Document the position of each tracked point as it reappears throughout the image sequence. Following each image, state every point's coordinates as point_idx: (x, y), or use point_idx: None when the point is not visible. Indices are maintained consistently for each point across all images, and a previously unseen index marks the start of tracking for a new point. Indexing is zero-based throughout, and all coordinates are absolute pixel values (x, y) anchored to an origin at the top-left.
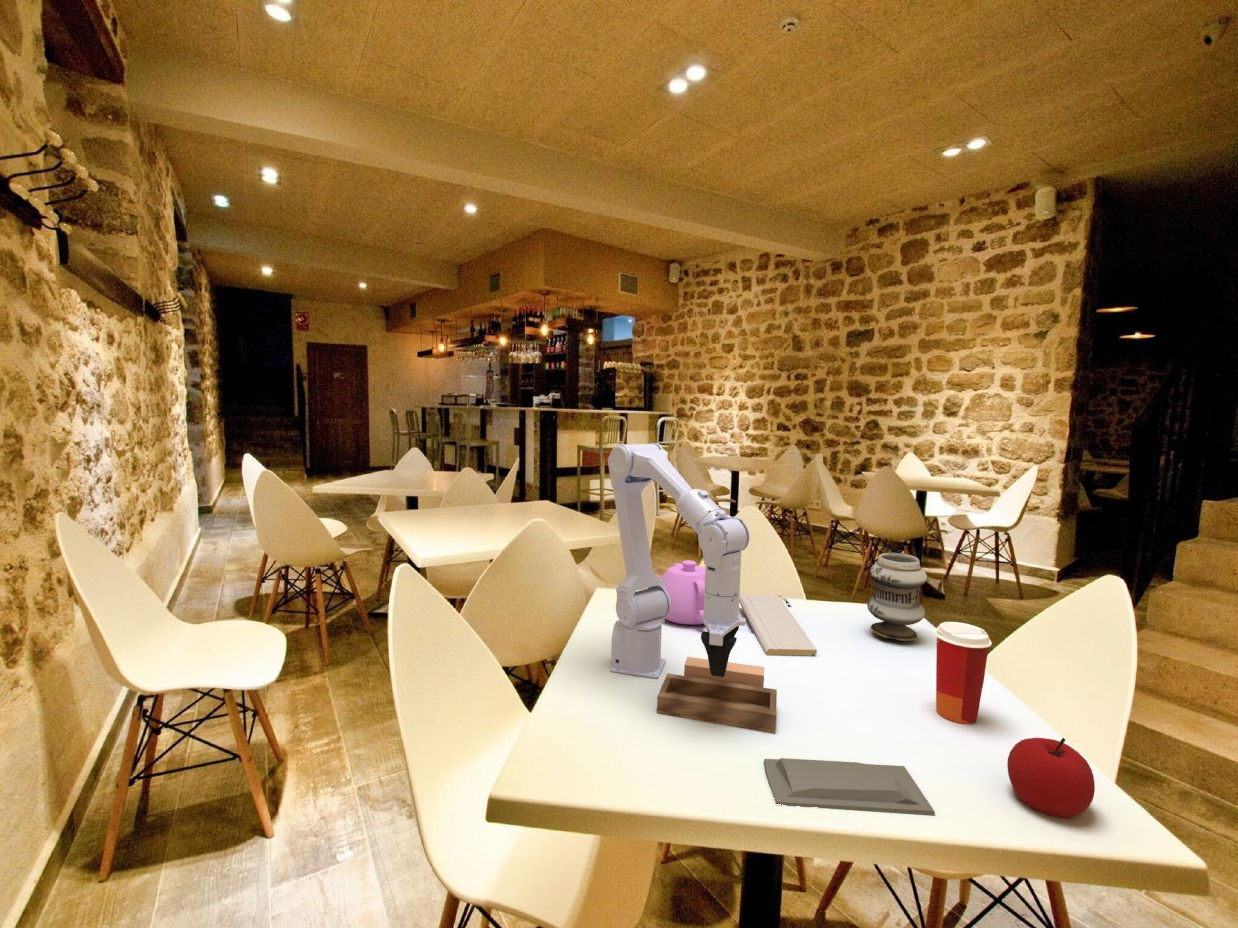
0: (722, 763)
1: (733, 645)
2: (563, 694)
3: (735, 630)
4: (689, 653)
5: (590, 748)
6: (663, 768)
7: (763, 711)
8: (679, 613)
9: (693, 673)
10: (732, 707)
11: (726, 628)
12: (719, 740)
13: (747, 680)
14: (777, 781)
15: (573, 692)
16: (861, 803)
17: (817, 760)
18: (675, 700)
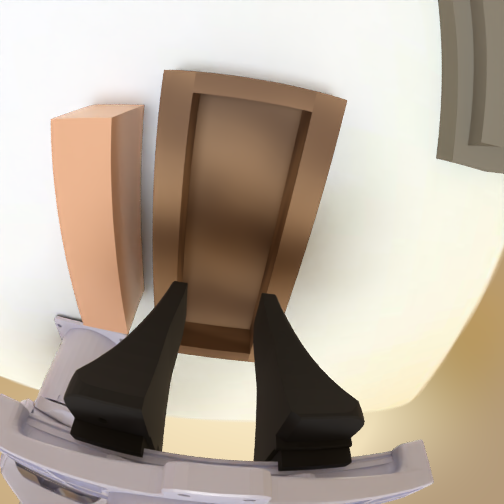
0: (419, 229)
1: (357, 402)
2: (222, 414)
3: (149, 399)
4: (4, 272)
5: (353, 380)
6: (412, 309)
7: (328, 135)
8: None
9: (131, 303)
10: (310, 224)
11: (378, 497)
12: (350, 228)
13: (121, 166)
14: (500, 159)
15: (214, 408)
16: None
17: (487, 66)
18: None
